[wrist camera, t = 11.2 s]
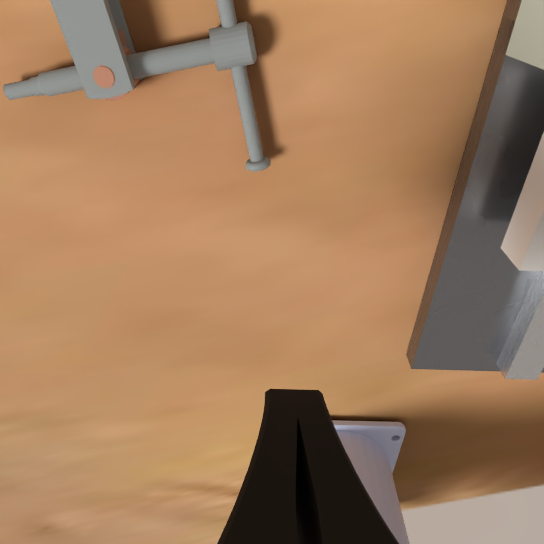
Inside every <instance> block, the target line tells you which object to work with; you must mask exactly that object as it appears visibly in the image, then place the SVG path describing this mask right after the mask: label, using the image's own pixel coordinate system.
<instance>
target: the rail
mask: <svg viewBox="0 0 544 544" xmlns="http://www.w3.org/2000/svg"><path fill="white" fill-rule="evenodd" d="M521 1H522V0H507V3H506V7H505V10H504V14H503V17H502V21H501V24H500V28H499V31H498V35H497V38H496V42H495V46H494V49H493V53H492V56H491V60H490V63H489V67H488V70H487V74H486V77H485V81H484V84H483V88H482V91H481V95H480V98H479V102H478V105H477V109H476V112H475V116H474V119H473V123H472V126H471V130H470V133H469V137H468V140H467V144H466V147H465V151H464V154H463V158H462V161H461V165H460V168H459V172H458V175H457V179H456V182H455V186H454V189H453V193H452V196H451V200H450V203H449V207H448V210H447V214H446V217H445V221H444V225H443V228H442V232H441V235H440V239H439V242H438V246H437V249H436V253H435V256H434V260H433V263H432V267H431V270H430V274H429V277H428V281H427V284H426V288H425V291H424V295H423V298H422V302H421V305H420V309H419V312H418V316H417V319H416V323H415V326H414V330H413V333H412V337H411V340H410V344H409V347H408V351H407V354H406V355H407V358H408V361H409V364H410V366H411V369H438V370H473V371H501V373H502V375H503V376H504V378H505V379H532V380H537V379H538V377H539V375H540V373H541V372H543V373H544V271H520V270H518V269H517V267H516V266H515V265H514V264H513V263H512V261H511V260H510V259H509V258H508V257H507V255H506V254H505V253H504V252H503V250H502V249H501V245H502V242H503V240H504V237H505V234H506V232H507V229H508V226H509V224H510V221H511V218H512V216H513V213H514V210H515V208H516V205H517V202H518V199H519V197H520V194H521V191H522V189H523V186H524V183H525V181H526V178H527V175H528V173H529V170H530V167H531V164H532V162H533V159H534V156H535V154H536V151H537V148H538V146H539V143H540V140H541V138H542V135H543V132H544V70H543V69H541V68H538V67H536V66H533V65H530V64H528V63H525V62H523V61H520V60H517V59H515V58H512V57H510V56H507V55H506V51H507V48H508V45H509V41H510V38H511V34H512V31H513V27H514V25H515V21H516V18H517V14H518V11H519V8H520V4H521Z"/></svg>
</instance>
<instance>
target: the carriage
mask: <svg viewBox="0 0 544 544" xmlns="http://www.w3.org/2000/svg"><path fill="white" fill-rule="evenodd" d="M501 249H502V250H503V252H504V253H505V254H506V255H507V257H508V258H509V259H510V260H511V261H512V263H513V264H514V265H515V266H516V267H517V269H518V270H520V271H544V132H543V135H542V138H541V140H540V143H539V146H538V148H537V151H536V154H535V156H534V159H533V162H532V164H531V167H530V170H529V173H528V175H527V178H526V181H525V183H524V186H523V189H522V191H521V194H520V197H519V199H518V202H517V205H516V208H515V210H514V213H513V216H512V218H511V221H510V224H509V226H508V229H507V232H506V234H505V237H504V240H503V242H502V245H501Z"/></svg>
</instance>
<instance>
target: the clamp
mask: <svg viewBox="0 0 544 544" xmlns="http://www.w3.org/2000/svg"><path fill="white" fill-rule="evenodd" d="M50 1H51V4H52V6H53V9H54V12H55V14H56V17H57V19H58V22H59V25H60V27H61V30H62V32H63V35H64V38H65V40H66V43H67V46H68V48H69V51H70V53H71V56H72V59H73V61H74V64H75V66H71V67H66V68H61V69H57V70H52V71H47V72H42V73H39V75H38V76H36V77H31V78H30V79H29V80H24V81H19V82H14V83H9V84H5V85H4V86H3V89H4V93H5V95H6V97H7V98H8V99H10V100H13V99H18V98H23V97H28V96H33V95H36V96H41V95H46V96H54V95H59V94H64V93H69V92H73V91H78V90H83V89H84V90H85V92H86V95H87V98H88V99H107V100H117V99H120V98H122V97H124V96H125V95H126V94H127V93H128V92H130V91H131V90H133V89H134V88H135V86H136V84H137V83H138V82H139V81H141V80H143V79H144V78H143V77H148V76H153V75H158V74H163V73H168V72H173V71H178V70H183V69H188V68H193V67H198V66H203V65H208V64H213V63H215V65H216V68H217V70H218V71H220V70H226V69H231V72H232V76H233V81H234V86H235V90H236V95H237V100H238V104H239V109H240V114H241V119H242V123H243V128H244V133H245V137H246V142H247V147H248V151H249V156H250V159H249V160H248V161H247V162H246V165H245V166H246V168H247V169H248V170H249V171H260V170H264V169H266V168H268V167H269V166H270V163H271V161H270V159H269V158H268V157H266V156H263V151H262V146H261V141H260V136H259V130H258V125H257V120H256V115H255V110H254V105H253V100H252V95H251V90H250V85H249V80H248V74H247V69H246V65H251V64H254V63H255V61H256V60H257V53H256V47H255V41H254V36H253V31H252V27H251V25H250V24H249V23H248V22H246V21H245V22H240V23H237V18H236V13H235V8H234V3H233V0H216V1H217V6H218V10H219V15H220V20H221V24H222V26H221V27H216V28H212V29H209V37H210V38H207V39H202V40H197V41H192V42H188V43H183V44H178V45H173V46H168V47H163V48H159V49H154V50H149V51H144V52H139V53H136V52H135V49H134V46H133V43H132V39H131V36H130V33H129V30H128V27H127V24H126V20H125V17H124V14H123V11H122V8H121V4H120V1H119V0H50Z"/></svg>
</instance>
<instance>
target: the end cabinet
mask: <svg viewBox="0 0 544 544" xmlns="http://www.w3.org/2000/svg"><path fill="white" fill-rule="evenodd" d="M506 55H507V56H510V57H512V58H515V59H517V60H520V61H523V62H525V63H528V64H530V65H533V66H536V67H538V68H541V69H543V70H544V0H522V1H521V4H520V8H519V11H518V14H517V18H516V21H515V25H514V27H513V31H512V34H511V38H510V41H509V45H508V48H507V51H506Z"/></svg>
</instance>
